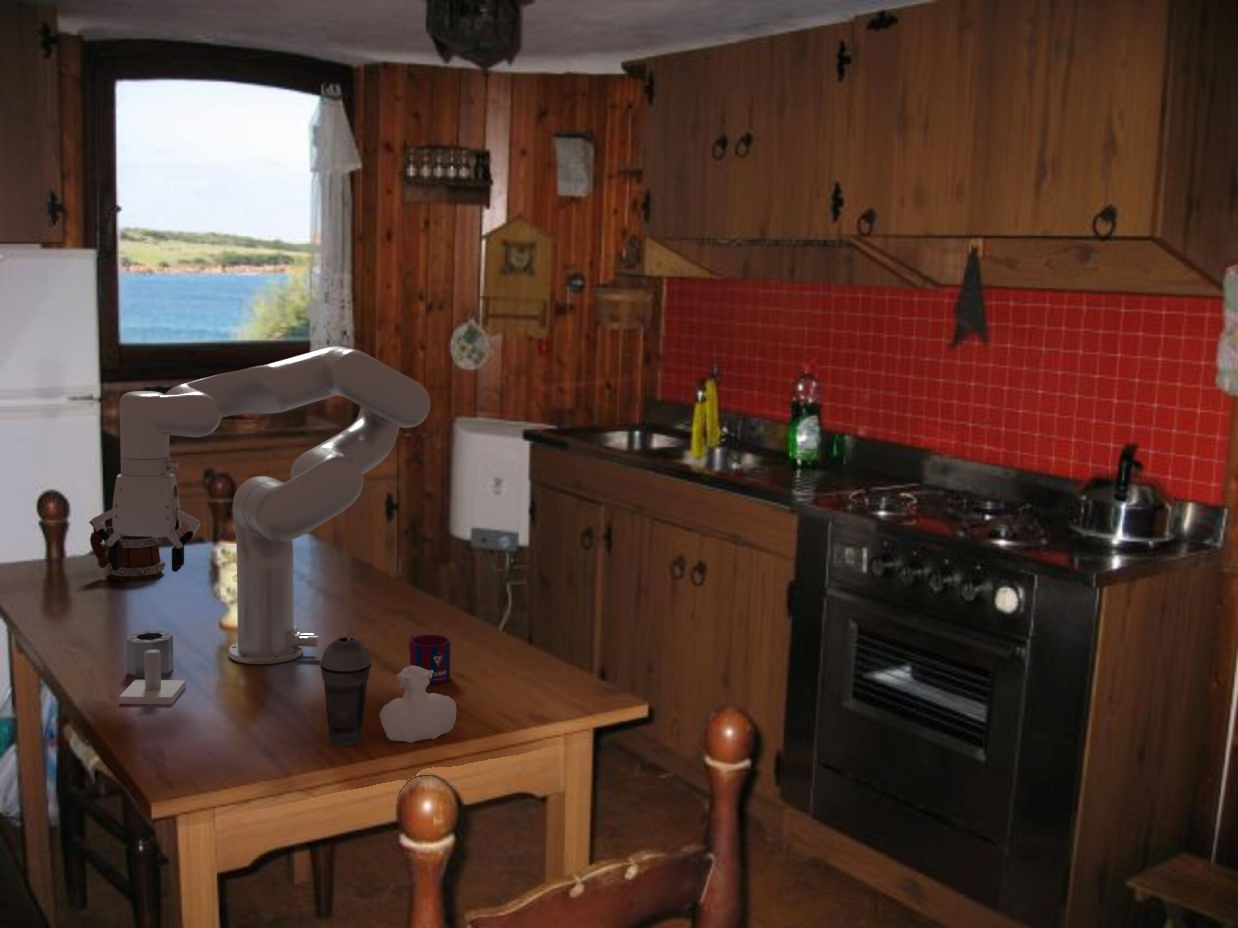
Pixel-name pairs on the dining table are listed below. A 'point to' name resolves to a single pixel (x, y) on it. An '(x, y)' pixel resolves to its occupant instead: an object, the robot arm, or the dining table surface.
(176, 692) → the shaft block
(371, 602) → the dining table surface
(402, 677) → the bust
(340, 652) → the beverage cup
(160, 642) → the ring
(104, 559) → the mug
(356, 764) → the dining table surface
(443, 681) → the cup
